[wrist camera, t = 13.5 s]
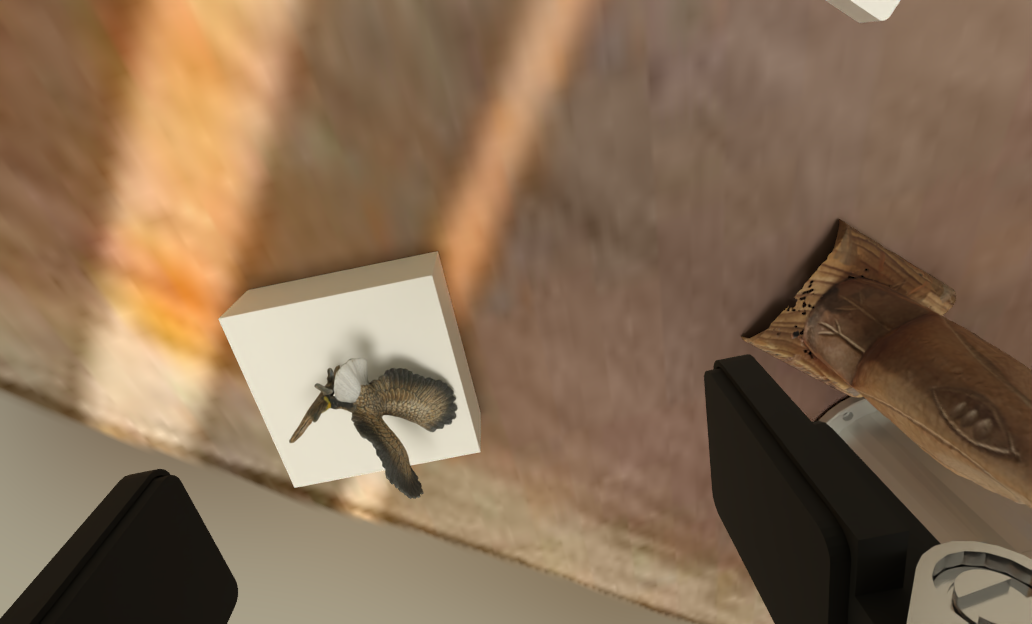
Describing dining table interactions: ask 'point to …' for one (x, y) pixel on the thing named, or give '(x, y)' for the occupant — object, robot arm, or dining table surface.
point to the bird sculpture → (911, 362)
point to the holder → (866, 9)
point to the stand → (353, 334)
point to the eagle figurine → (384, 412)
